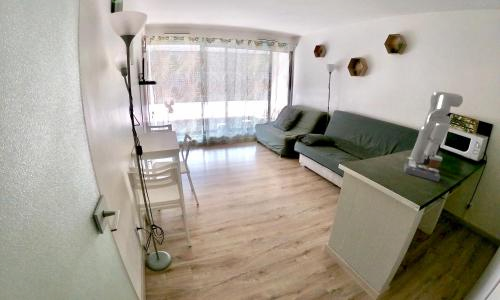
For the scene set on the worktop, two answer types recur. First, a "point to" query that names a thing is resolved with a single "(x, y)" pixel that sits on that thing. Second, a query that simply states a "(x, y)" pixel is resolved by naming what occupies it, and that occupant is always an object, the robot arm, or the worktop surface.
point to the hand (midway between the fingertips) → (425, 164)
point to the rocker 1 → (412, 164)
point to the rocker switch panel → (422, 172)
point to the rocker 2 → (422, 167)
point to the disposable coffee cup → (434, 162)
